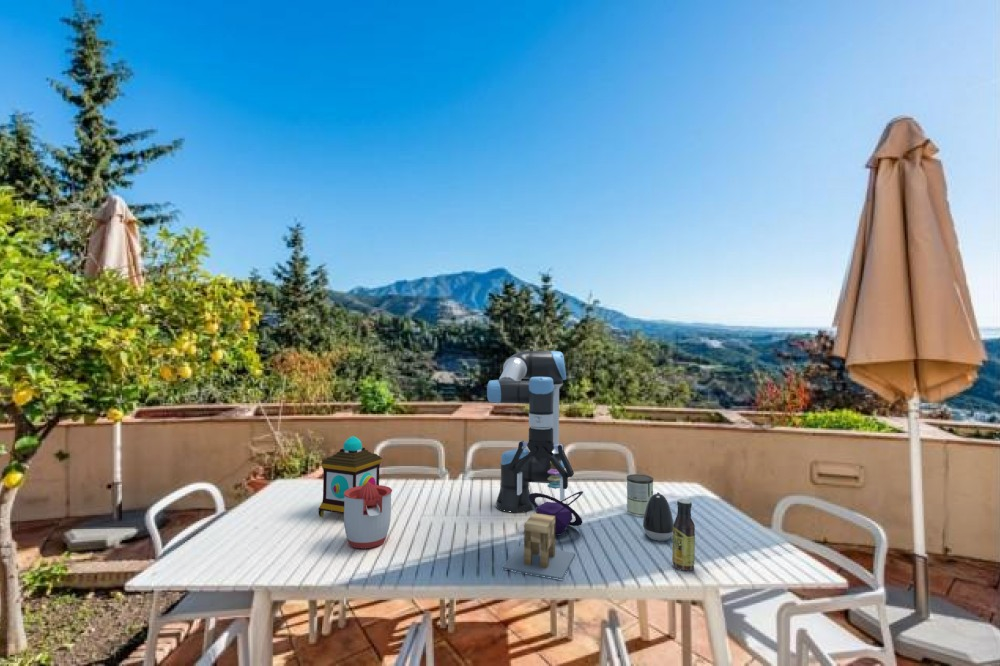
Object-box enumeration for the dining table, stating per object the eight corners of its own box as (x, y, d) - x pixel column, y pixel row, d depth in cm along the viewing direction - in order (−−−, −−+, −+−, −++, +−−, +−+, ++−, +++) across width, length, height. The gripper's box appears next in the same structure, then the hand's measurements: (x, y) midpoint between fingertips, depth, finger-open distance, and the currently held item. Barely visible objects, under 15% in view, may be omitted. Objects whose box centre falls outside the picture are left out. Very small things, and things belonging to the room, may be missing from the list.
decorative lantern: (312, 517, 180) (314, 438, 182) (347, 502, 199) (349, 430, 200) (355, 525, 173) (357, 442, 174) (387, 509, 191) (388, 434, 192)
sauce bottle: (668, 562, 145) (668, 497, 145) (688, 562, 145) (688, 496, 146) (678, 572, 138) (678, 503, 139) (699, 572, 139) (698, 503, 139)
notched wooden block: (533, 551, 150) (533, 513, 150) (555, 554, 148) (555, 515, 148) (524, 564, 141) (524, 523, 141) (546, 568, 138) (547, 526, 139)
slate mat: (502, 569, 139) (502, 566, 139) (521, 546, 156) (521, 544, 156) (562, 580, 132) (562, 577, 132) (575, 555, 149) (575, 552, 149)
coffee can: (624, 508, 196) (624, 473, 197) (650, 509, 195) (650, 474, 195) (629, 516, 186) (629, 480, 186) (656, 517, 185) (655, 481, 185)
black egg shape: (673, 534, 167) (673, 491, 168) (674, 545, 158) (674, 499, 158) (643, 530, 171) (643, 488, 171) (642, 541, 161) (642, 496, 161)
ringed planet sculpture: (596, 531, 170) (597, 461, 171) (565, 549, 154) (565, 471, 155) (545, 516, 184) (545, 452, 185) (511, 532, 168) (512, 461, 169)
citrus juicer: (347, 558, 145) (349, 492, 146) (338, 538, 161) (340, 478, 162) (397, 549, 153) (399, 486, 153) (384, 530, 168) (385, 473, 169)
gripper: (498, 426, 147) (498, 495, 146) (578, 432, 138) (578, 505, 137) (507, 422, 154) (506, 488, 153) (583, 428, 145) (583, 497, 144)
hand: (540, 496), depth 145 cm, fingers open, 13 cm apart
